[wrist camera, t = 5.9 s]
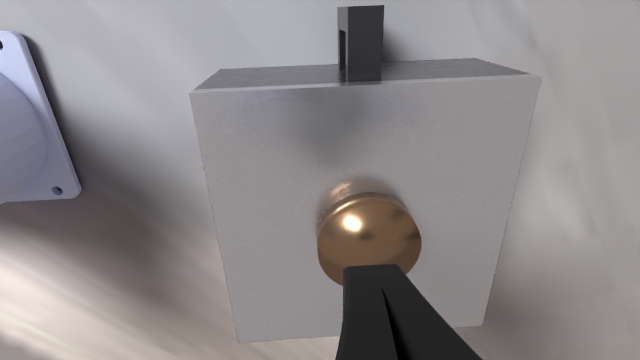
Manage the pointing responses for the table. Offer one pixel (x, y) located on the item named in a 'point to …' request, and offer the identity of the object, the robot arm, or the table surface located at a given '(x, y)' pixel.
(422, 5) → the table surface
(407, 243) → the brass door knob
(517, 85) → the press
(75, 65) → the table surface
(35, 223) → the table surface
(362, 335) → the robot arm
